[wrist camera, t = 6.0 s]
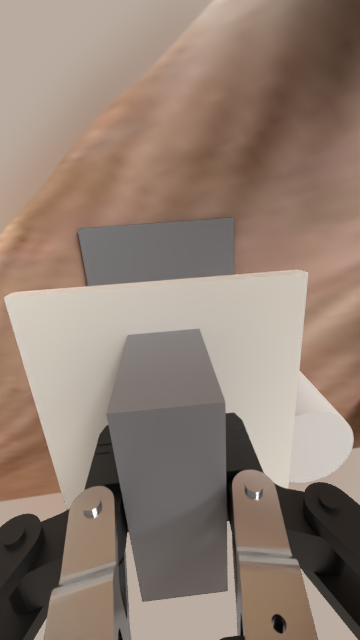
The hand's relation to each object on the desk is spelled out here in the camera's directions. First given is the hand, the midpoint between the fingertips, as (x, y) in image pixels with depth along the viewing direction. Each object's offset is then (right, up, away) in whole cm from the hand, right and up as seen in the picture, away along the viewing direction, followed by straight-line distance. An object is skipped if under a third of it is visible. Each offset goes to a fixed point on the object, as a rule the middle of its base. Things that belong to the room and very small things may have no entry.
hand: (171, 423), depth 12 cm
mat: (-2, +7, +20) cm, 21 cm away
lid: (0, +1, +2) cm, 2 cm away
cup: (+11, -3, +25) cm, 27 cm away
